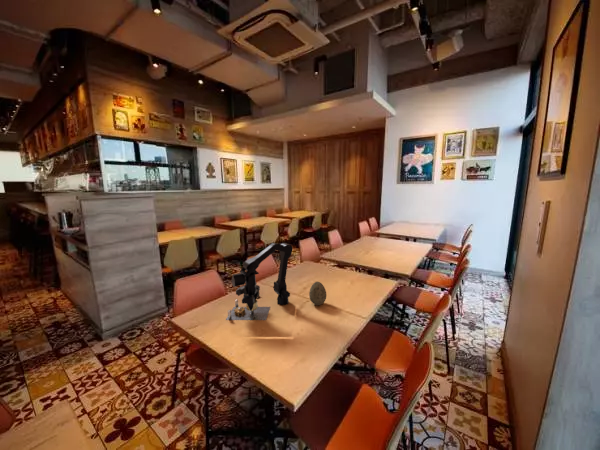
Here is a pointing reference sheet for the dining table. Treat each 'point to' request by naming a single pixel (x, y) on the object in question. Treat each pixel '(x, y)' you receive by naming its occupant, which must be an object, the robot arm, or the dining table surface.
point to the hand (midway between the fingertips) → (252, 307)
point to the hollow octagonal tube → (253, 306)
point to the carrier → (247, 313)
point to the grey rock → (247, 294)
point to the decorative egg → (317, 293)
